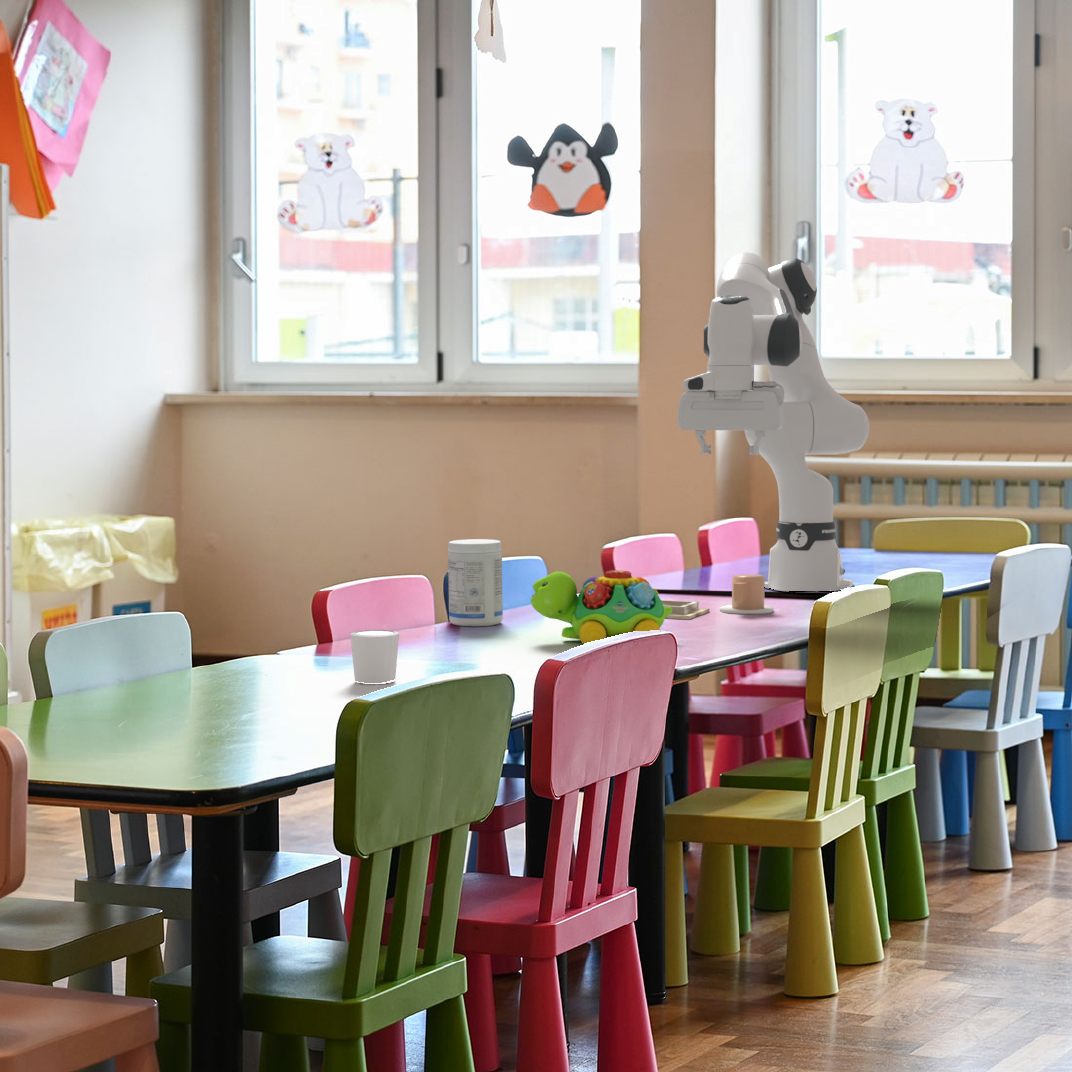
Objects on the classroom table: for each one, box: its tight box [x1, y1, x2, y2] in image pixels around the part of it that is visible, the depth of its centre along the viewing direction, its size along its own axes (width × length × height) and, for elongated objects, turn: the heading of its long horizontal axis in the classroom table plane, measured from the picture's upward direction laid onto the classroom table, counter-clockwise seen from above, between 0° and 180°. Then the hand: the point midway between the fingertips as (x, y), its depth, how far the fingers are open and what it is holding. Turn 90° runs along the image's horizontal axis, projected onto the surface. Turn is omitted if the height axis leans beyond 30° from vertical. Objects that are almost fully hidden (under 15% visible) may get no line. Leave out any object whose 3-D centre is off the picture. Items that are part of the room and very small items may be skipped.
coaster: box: [719, 604, 775, 615], centre depth 322 cm, size 10×10×1 cm
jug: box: [731, 573, 766, 610], centre depth 320 cm, size 6×10×6 cm, turn 157°
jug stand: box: [661, 599, 710, 620], centre depth 318 cm, size 12×12×2 cm
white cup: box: [349, 629, 400, 683], centre depth 242 cm, size 7×7×7 cm
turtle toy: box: [530, 569, 672, 644], centre depth 282 cm, size 17×23×12 cm
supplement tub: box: [447, 538, 504, 627], centre depth 304 cm, size 10×10×15 cm
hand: (729, 454), depth 326 cm, fingers open, 8 cm apart
